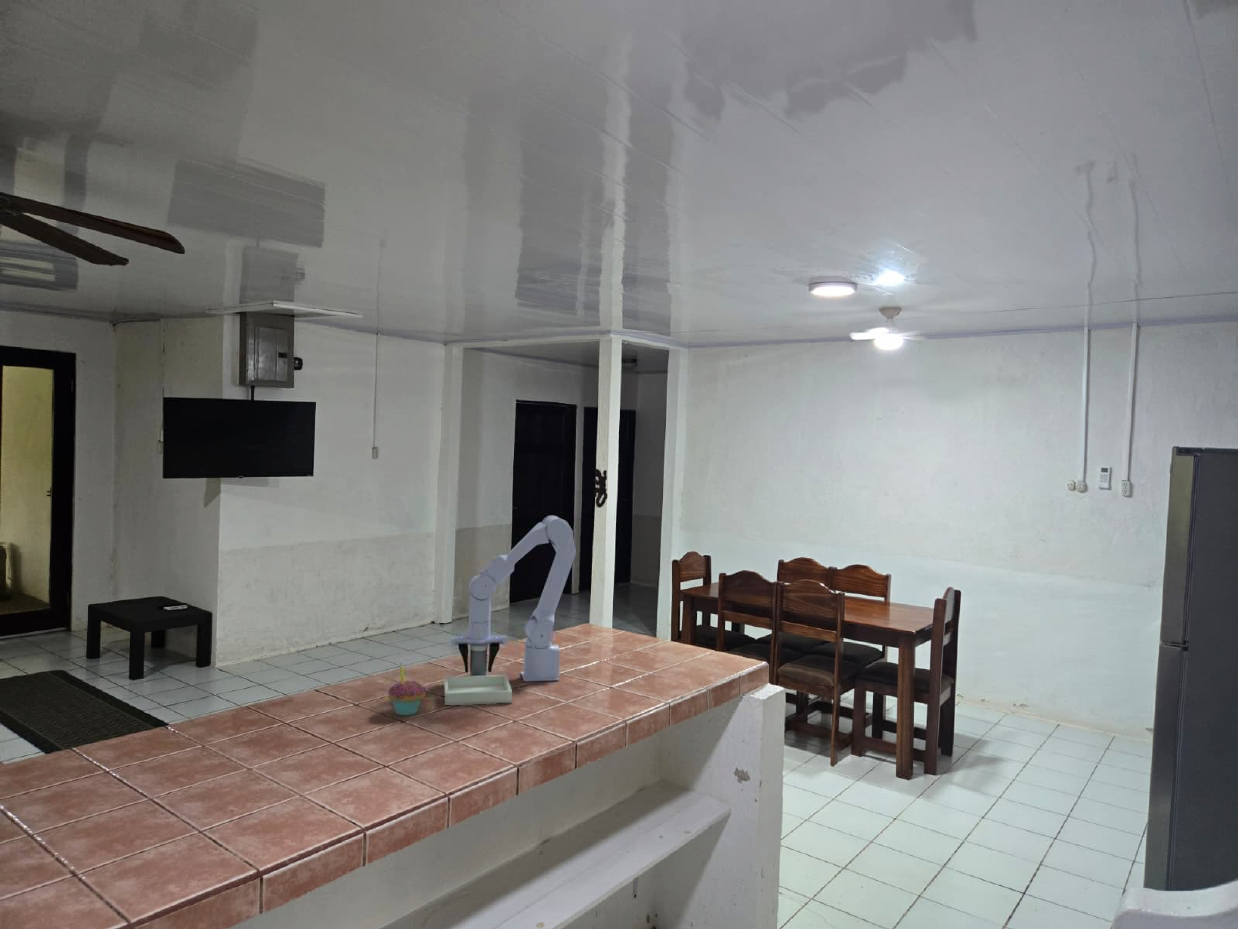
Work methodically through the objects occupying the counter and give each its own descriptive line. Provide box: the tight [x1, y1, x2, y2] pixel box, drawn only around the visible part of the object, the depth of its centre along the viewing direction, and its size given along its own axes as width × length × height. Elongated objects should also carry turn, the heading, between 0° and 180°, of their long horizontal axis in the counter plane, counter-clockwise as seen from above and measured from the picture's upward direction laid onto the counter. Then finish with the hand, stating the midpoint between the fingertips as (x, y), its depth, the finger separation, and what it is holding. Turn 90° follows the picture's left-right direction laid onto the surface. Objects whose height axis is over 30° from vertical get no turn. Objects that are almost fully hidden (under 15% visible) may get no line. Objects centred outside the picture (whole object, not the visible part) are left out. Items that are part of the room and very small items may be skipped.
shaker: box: [469, 644, 489, 676], centre depth 219 cm, size 5×5×10 cm
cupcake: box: [387, 663, 427, 716], centre depth 192 cm, size 9×8×12 cm
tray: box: [443, 674, 513, 706], centre depth 206 cm, size 16×14×3 cm
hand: (478, 671), depth 219 cm, fingers open, 5 cm apart
